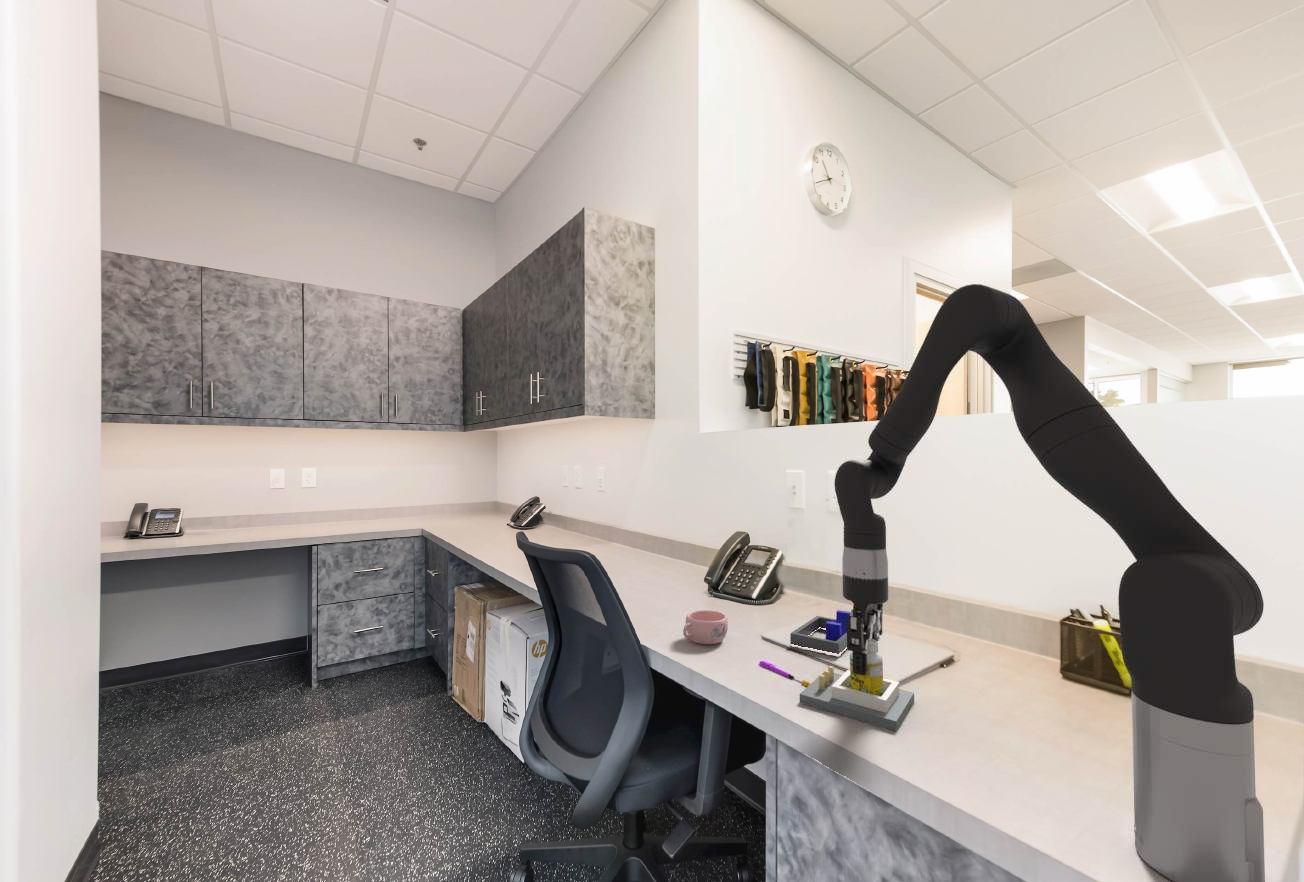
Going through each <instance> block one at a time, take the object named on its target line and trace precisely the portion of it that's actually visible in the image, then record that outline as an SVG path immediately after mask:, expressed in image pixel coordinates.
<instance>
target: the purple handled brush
mask: <svg viewBox="0 0 1304 882" xmlns="http://www.w3.org/2000/svg"><path fill="white" fill-rule="evenodd" d="M758 664H759V666H761V667H762V668H765V669H768V670H770V671H772V672H774V673H776V674H779V675H780V676H783V677H785V678H787V679H790V680H795V681H797V682H799V683H801V685H802V686H805V688H807V687H808V686H809V685H810V684H811V683H812V682H811V683H810V682H809V681H807V680H806V679H803V680H802V681H801V680H799V679H797V678H795V676H794V675H793V674H791V673H789V672H787V671H785V670H783V669H780V668H779V667H776V665H775V664H773V663H771V662H768V661H766V660H760V661H759V663H758Z"/></svg>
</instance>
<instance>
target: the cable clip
mask: <svg viewBox="0 0 1304 882" xmlns="http://www.w3.org/2000/svg"><path fill="white" fill-rule="evenodd" d="M835 614H836V618H835V619H836V622H833V621H831V622H829V621H827V623H826V631H825V639H827V640H832V641H837V640H838V639H839V638H840V637H842V636H843V635H844V634H845V633H846V632H847V630H846V617H847V615H848V616H850V615H851V611H847V610H840V609H837V610H836V612H835Z"/></svg>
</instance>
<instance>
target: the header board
mask: <svg viewBox="0 0 1304 882" xmlns="http://www.w3.org/2000/svg"><path fill="white" fill-rule="evenodd" d="M834 668H835V667H834V666H832V665H830V666H829V665H828V666H827V670H825V669H824V670H823V672H822V673H821V674H819V675H818V676H817V677H816V679H814V680H813V681H812V682H811V684H810V685H809V686H808V687H805V688H804V690H802V691H801V692H799V703H800V704H804V705H807V706H810V707H814V708H817V709H820V710H821V709H822V710H824V711H827V712H830V713H833V714H838V715H841V716H844V717H847V718H851V719H854V720H858V721H862V722H865V723H869V724H871V725H875V726H879V727H882V728H885V729H888V730H891V731H898V728H900V725H901V724H902V722H903V720H904V719H905V717H906V716H907V714H908V712H909V710H910V709H911V708H912V706H913V704H914V702H915V692H913V691H909V690H905V689H901V688H900V682H899V681H896V680H891V679H887V678H884V677H883V695H882V696H877V695H873V694H869V693H865V692H861V691H858V690H854V689H851V681H850V669H847V670H846V671H845V672H844V673H843V674H840V673H837V672H835V669H834Z"/></svg>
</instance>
